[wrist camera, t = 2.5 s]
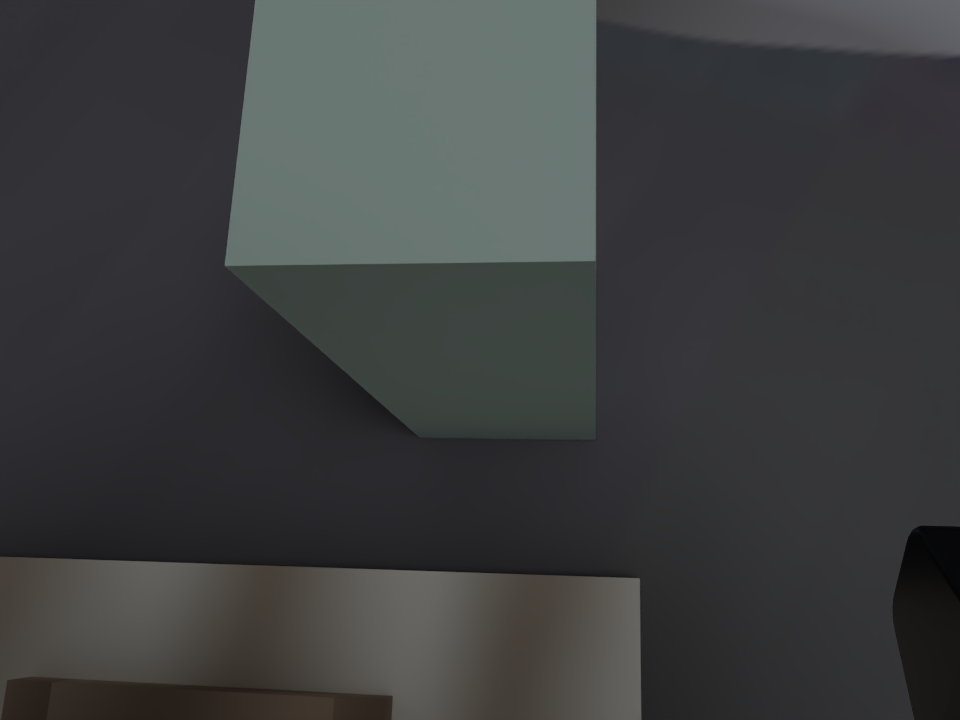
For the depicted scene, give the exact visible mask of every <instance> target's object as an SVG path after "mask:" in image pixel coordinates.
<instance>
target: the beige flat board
mask: <svg viewBox="0 0 960 720" xmlns="http://www.w3.org/2000/svg"><path fill="white" fill-rule="evenodd" d="M0 720H641V649H640V578H615V577H585V576H556V575H526V574H497V573H467V572H438V571H408V570H379V569H349V568H320V567H290V566H261V565H232V564H202V563H173V562H143V561H114V560H84V559H55V558H25V557H0Z"/></svg>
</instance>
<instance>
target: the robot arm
mask: <svg viewBox="0 0 960 720" xmlns="http://www.w3.org/2000/svg"><path fill="white" fill-rule="evenodd" d="M893 622H894V628H895V633H896V638H897V642H898V647H899V651H900V656H901V660H902V665H903V670H904V674H905V679H906V683H907V688H908V692H909V697H910V702H911V706H912V711H913V715H914V720H960V527H953V526H919V527H917V528H915V529H913V530H912V532H911V533H910V535H909V537H908V540H907V543H906V547H905V552H904V556H903V560H902V564H901V568H900V572H899V576H898V581H897V585H896V589H895V593H894V598H893Z"/></svg>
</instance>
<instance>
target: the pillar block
mask: <svg viewBox="0 0 960 720" xmlns="http://www.w3.org/2000/svg"><path fill="white" fill-rule="evenodd" d="M225 267H227V268H228V269H229V270H230V271H231V272H232V273H233V274H234V275H236V276H237V277H238V278H239V279H240V280H241V281H242V282H244V283H245V284H246V285H247V286H248V287H249V288H250V289H251V290H253V291H254V292H255V293H256V294H257V295H258V296H259V297H261V298H262V299H263V300H264V301H265V302H266V303H267V304H269V305H270V306H271V307H272V308H273V309H274V310H275V311H276V312H278V313H279V314H280V315H281V316H282V317H283V318H284V319H286V320H287V321H288V322H289V323H290V324H291V325H292V326H293V327H295V328H296V329H297V330H298V331H299V332H300V333H301V334H303V335H304V336H305V337H306V338H307V339H308V340H309V341H310V342H312V343H313V344H314V345H315V346H316V347H317V348H318V349H320V350H321V351H322V352H323V353H324V354H325V355H326V356H327V357H329V358H330V359H331V360H332V361H333V362H334V363H335V364H337V365H338V366H339V367H340V368H341V369H342V370H343V371H344V372H346V373H347V374H348V375H349V376H350V377H351V378H352V379H354V380H355V381H356V382H357V383H358V384H359V385H360V386H362V387H363V388H364V389H365V390H366V391H367V392H368V393H369V394H371V395H372V396H373V397H374V398H375V399H376V400H377V401H379V402H380V403H381V404H382V405H383V406H384V407H385V408H386V409H388V410H389V411H390V412H391V413H392V414H393V415H394V416H396V417H397V418H398V419H399V420H400V421H401V422H402V423H403V424H405V425H406V426H407V427H408V428H409V429H410V430H411V431H413V432H414V433H415V434H416V435H417V436H418V437H419V438H473V439H546V440H596V0H255V9H254V18H253V26H252V35H251V43H250V52H249V61H248V69H247V78H246V87H245V95H244V104H243V113H242V121H241V130H240V138H239V147H238V156H237V164H236V173H235V182H234V190H233V199H232V207H231V216H230V225H229V233H228V242H227V251H226V259H225Z"/></svg>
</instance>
